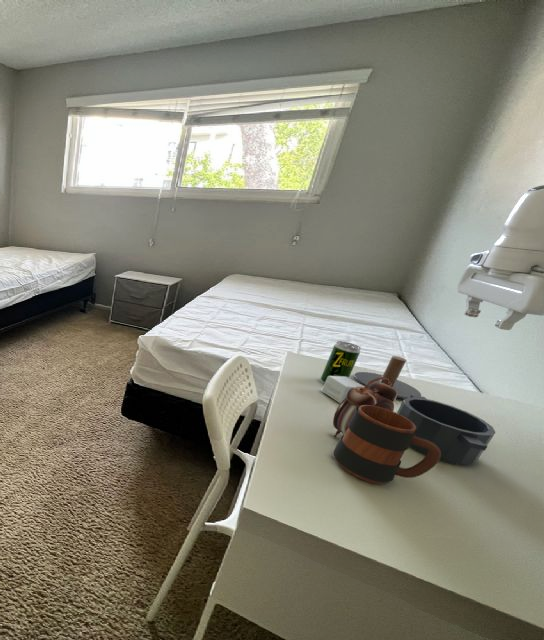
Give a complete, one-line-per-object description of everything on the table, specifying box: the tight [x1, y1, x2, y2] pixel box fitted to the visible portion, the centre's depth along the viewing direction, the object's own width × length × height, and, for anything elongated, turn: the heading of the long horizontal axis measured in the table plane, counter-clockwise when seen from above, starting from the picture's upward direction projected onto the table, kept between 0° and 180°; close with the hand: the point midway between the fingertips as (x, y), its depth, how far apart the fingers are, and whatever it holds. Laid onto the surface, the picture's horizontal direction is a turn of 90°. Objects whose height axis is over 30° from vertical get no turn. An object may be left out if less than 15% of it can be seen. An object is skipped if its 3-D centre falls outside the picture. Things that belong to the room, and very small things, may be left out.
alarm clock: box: [332, 377, 397, 438], centre depth 71 cm, size 11×5×15 cm, turn 108°
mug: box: [332, 405, 441, 485], centre depth 62 cm, size 9×12×12 cm
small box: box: [321, 376, 365, 404], centre depth 89 cm, size 6×6×5 cm
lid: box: [353, 355, 422, 400], centre depth 95 cm, size 14×14×9 cm
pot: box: [396, 395, 497, 467], centre depth 73 cm, size 13×18×8 cm
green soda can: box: [320, 340, 362, 385], centre depth 95 cm, size 5×5×12 cm
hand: (485, 322), depth 80 cm, fingers open, 8 cm apart
